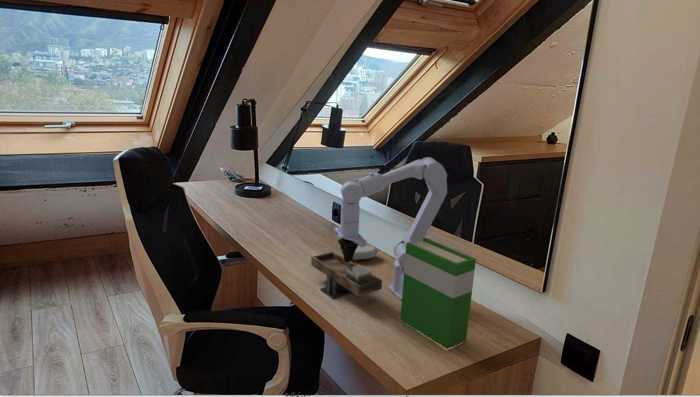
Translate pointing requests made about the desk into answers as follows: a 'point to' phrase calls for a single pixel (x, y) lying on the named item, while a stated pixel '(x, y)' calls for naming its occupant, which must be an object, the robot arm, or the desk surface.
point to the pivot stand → (334, 289)
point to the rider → (359, 274)
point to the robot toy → (364, 252)
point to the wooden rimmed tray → (343, 273)
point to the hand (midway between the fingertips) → (348, 261)
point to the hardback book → (437, 291)
